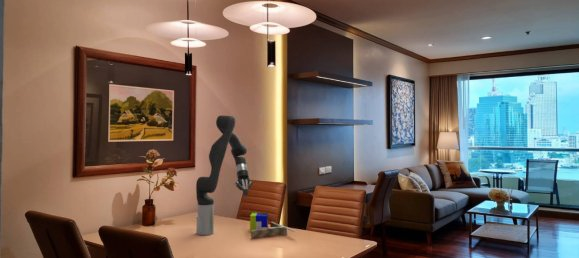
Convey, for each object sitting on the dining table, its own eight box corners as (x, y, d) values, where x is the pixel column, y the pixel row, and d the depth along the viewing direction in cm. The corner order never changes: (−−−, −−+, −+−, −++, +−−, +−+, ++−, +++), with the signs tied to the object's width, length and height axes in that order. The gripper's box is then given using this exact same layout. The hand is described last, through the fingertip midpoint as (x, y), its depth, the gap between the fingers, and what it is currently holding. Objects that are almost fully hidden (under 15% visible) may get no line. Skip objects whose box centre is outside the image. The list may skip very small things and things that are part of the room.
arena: (261, 244, 220) (261, 234, 220) (240, 232, 245) (240, 224, 245) (296, 239, 230) (296, 230, 230) (273, 228, 255) (273, 221, 255)
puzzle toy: (266, 232, 245) (266, 216, 245) (250, 232, 246) (250, 215, 246) (268, 229, 255) (268, 212, 255) (251, 228, 256) (252, 212, 256)
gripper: (234, 169, 272) (237, 193, 263) (253, 169, 277) (257, 192, 268) (231, 174, 277) (234, 198, 269) (250, 174, 283) (254, 197, 274)
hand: (246, 195), depth 268 cm, fingers closed
